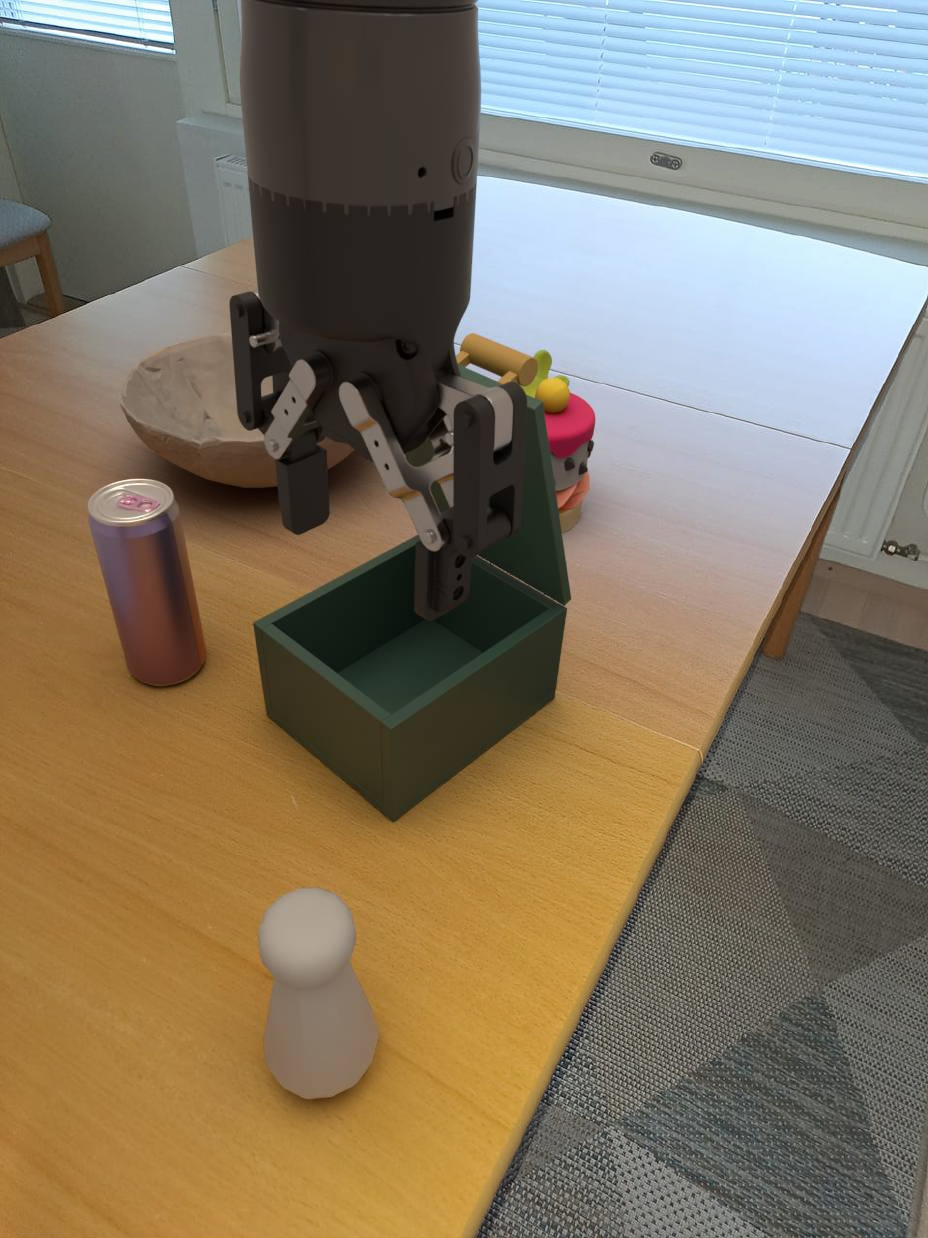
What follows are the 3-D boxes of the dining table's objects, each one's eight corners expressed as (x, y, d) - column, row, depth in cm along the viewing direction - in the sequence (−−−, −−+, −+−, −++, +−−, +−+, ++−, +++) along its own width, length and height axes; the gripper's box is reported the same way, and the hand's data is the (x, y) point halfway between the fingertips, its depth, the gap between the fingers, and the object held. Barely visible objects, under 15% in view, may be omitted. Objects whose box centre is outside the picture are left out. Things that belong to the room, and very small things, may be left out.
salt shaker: (389, 1099, 47) (384, 964, 38) (276, 1132, 45) (245, 999, 37) (366, 994, 51) (356, 852, 43) (262, 1021, 50) (232, 880, 41)
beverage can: (180, 698, 68) (143, 531, 59) (112, 678, 70) (65, 512, 60) (222, 649, 73) (193, 486, 63) (156, 631, 74) (119, 469, 65)
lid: (534, 409, 50) (593, 356, 52) (366, 334, 57) (423, 290, 59) (564, 606, 64) (610, 559, 65) (426, 526, 71) (471, 485, 73)
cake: (605, 511, 90) (627, 368, 81) (535, 553, 84) (550, 404, 75) (526, 471, 96) (538, 333, 86) (455, 508, 90) (460, 363, 80)
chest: (393, 823, 60) (391, 729, 54) (266, 715, 67) (252, 622, 62) (555, 698, 70) (567, 607, 64) (428, 615, 77) (430, 527, 71)
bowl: (79, 496, 89) (53, 402, 83) (229, 388, 108) (218, 305, 102) (317, 561, 82) (309, 463, 76) (432, 434, 102) (433, 347, 95)
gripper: (142, 136, 31) (202, 532, 41) (438, 237, 24) (423, 687, 34) (312, 114, 36) (329, 476, 46) (606, 194, 29) (549, 603, 39)
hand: (369, 566), depth 40 cm, fingers open, 8 cm apart
